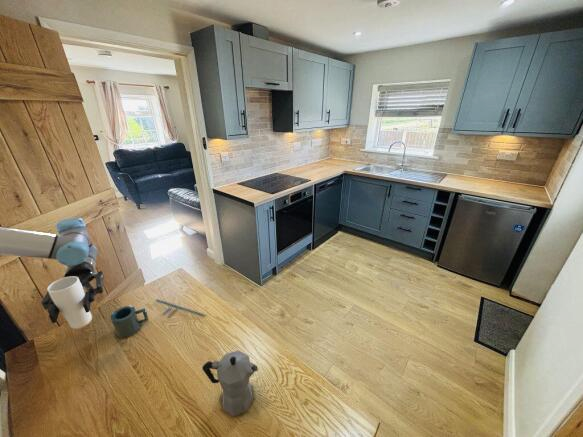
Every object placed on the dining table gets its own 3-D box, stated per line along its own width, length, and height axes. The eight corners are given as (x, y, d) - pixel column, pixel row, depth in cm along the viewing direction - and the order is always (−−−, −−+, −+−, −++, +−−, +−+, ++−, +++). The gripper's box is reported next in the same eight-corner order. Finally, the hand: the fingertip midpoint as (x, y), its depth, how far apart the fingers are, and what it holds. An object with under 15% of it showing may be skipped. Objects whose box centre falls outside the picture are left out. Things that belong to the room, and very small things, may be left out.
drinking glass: (101, 315, 75) (85, 276, 69) (81, 333, 69) (62, 292, 63) (81, 313, 76) (64, 274, 70) (60, 330, 70) (39, 290, 63)
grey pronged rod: (195, 323, 93) (203, 314, 98) (146, 307, 100) (156, 299, 105) (195, 326, 93) (204, 317, 98) (147, 309, 101) (157, 302, 105)
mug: (117, 342, 87) (110, 324, 83) (117, 328, 92) (110, 310, 89) (150, 329, 92) (145, 312, 89) (148, 316, 98) (143, 299, 94)
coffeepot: (262, 384, 74) (260, 344, 67) (256, 420, 66) (253, 378, 58) (214, 380, 75) (207, 340, 68) (202, 415, 66) (192, 373, 59)
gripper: (117, 270, 89) (116, 309, 72) (47, 289, 79) (26, 339, 62) (111, 253, 86) (108, 290, 69) (38, 270, 76) (13, 318, 59)
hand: (69, 313), depth 65 cm, fingers closed on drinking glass, 6 cm apart
